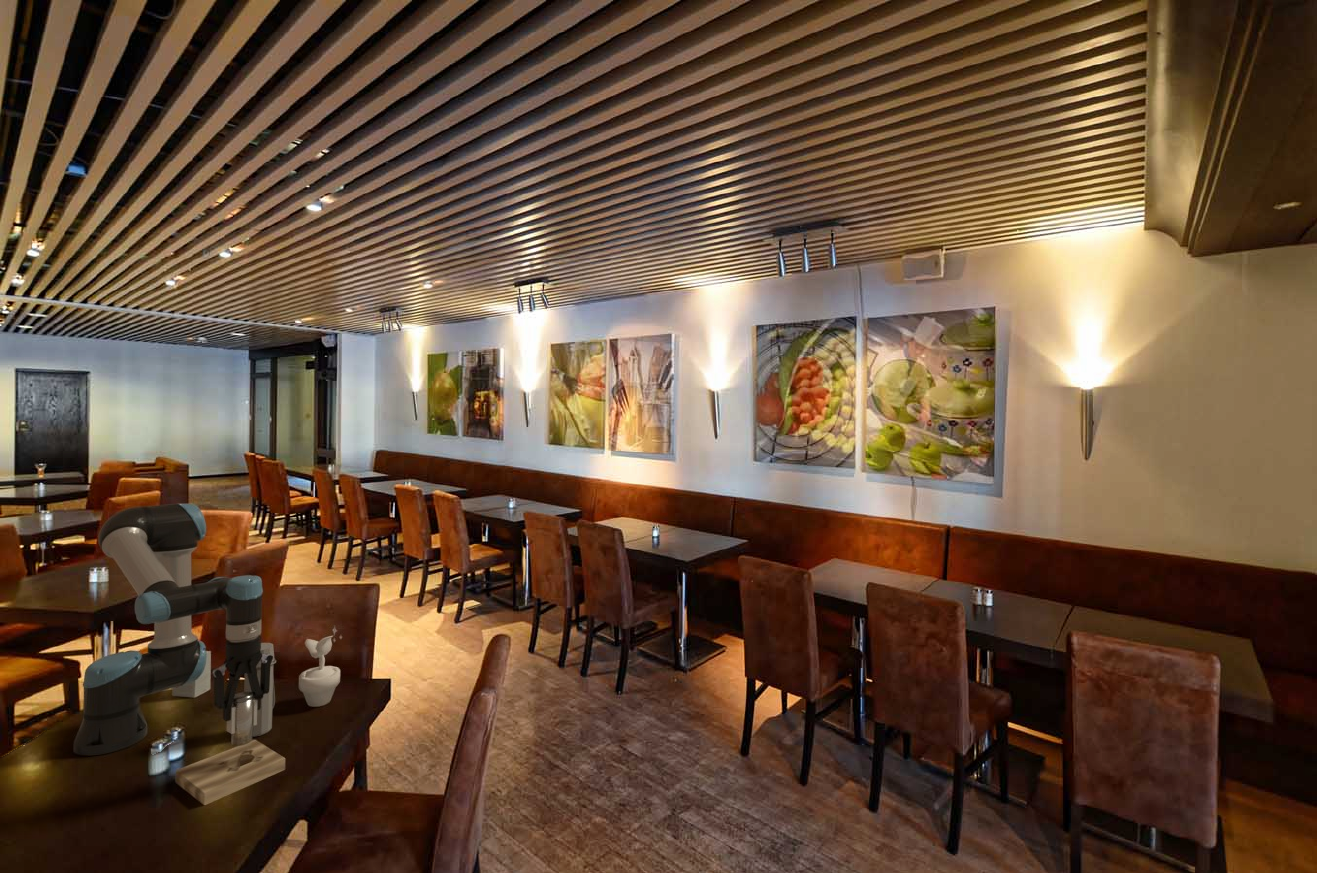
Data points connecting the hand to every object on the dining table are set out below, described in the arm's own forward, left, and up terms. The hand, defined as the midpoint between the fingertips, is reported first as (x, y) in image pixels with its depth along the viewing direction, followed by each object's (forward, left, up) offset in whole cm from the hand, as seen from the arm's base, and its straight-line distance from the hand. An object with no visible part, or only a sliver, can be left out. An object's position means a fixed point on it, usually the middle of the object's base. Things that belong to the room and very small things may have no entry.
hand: (241, 727), depth 154 cm
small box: (-61, +12, -12) cm, 64 cm away
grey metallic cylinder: (0, 0, -4) cm, 4 cm away
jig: (0, -2, -12) cm, 12 cm away
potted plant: (-22, +32, -12) cm, 41 cm away
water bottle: (-18, +13, -12) cm, 25 cm away
